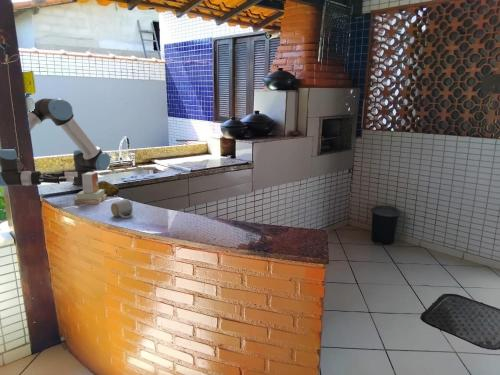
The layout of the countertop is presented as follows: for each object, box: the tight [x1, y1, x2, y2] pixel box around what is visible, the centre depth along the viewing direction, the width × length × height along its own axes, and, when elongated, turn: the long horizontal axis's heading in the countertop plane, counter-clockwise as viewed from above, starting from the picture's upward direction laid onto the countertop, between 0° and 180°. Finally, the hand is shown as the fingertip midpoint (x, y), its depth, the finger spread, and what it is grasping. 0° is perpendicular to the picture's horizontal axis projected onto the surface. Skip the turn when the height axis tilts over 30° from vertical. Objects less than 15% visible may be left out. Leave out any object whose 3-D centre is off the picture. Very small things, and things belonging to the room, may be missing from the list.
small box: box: [82, 171, 99, 193], centre depth 203 cm, size 8×6×10 cm
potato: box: [98, 180, 120, 196], centre depth 219 cm, size 8×13×8 cm, turn 60°
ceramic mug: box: [110, 198, 133, 219], centre depth 179 cm, size 11×8×8 cm
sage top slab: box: [76, 189, 105, 199], centre depth 205 cm, size 11×11×3 cm
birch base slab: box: [74, 194, 108, 205], centre depth 206 cm, size 13×13×3 cm
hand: (75, 176), depth 201 cm, fingers open, 13 cm apart
